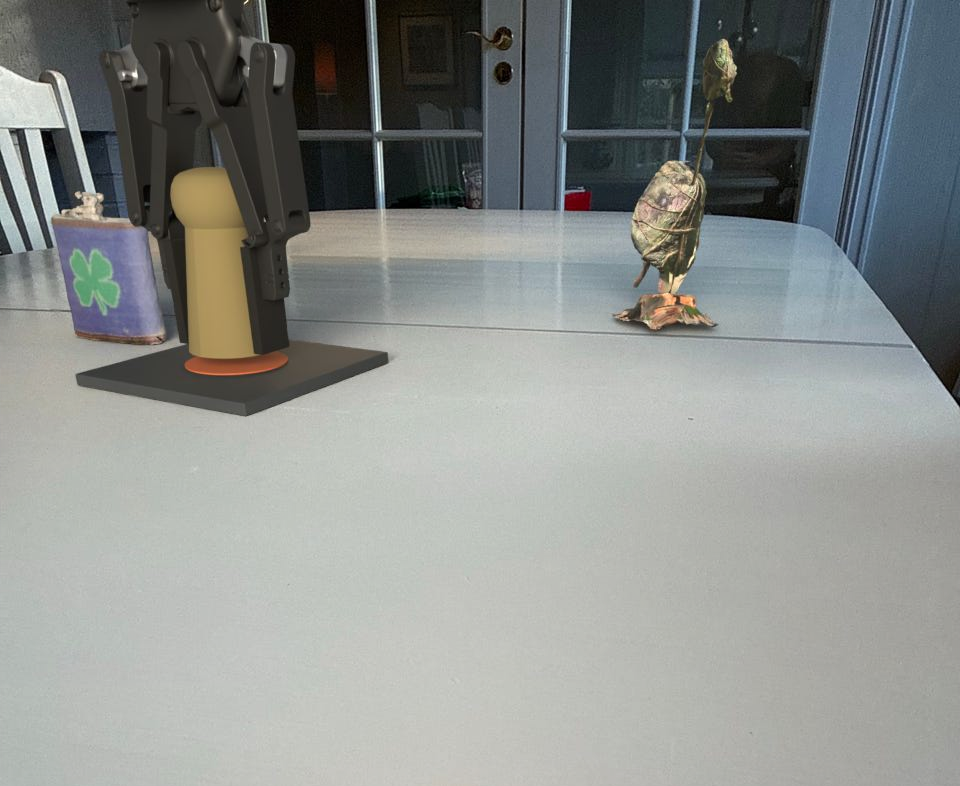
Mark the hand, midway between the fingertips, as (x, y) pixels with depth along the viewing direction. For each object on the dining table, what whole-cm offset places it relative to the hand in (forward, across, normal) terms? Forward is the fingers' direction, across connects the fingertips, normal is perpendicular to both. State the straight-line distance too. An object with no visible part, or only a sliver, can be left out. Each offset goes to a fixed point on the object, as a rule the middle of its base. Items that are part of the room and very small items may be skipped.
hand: (234, 344), depth 62 cm
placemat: (+2, 0, 0) cm, 2 cm away
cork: (0, 0, 0) cm, 0 cm away
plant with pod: (+2, -20, -30) cm, 36 cm away
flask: (+2, +17, -4) cm, 17 cm away
